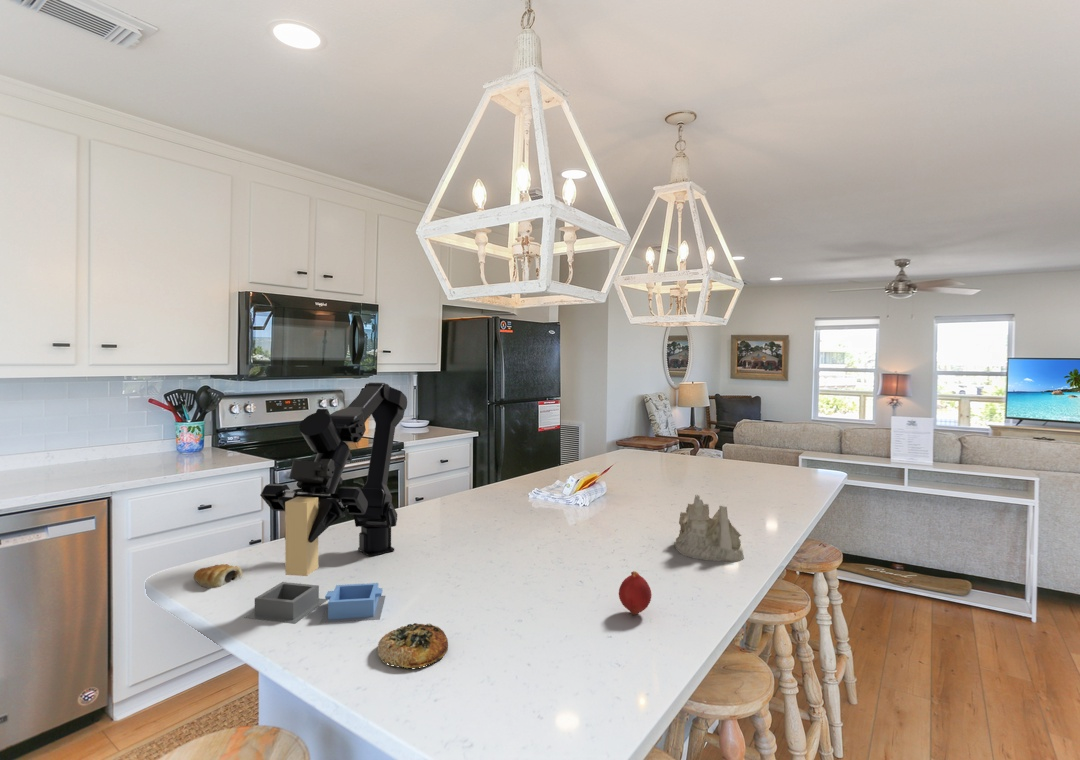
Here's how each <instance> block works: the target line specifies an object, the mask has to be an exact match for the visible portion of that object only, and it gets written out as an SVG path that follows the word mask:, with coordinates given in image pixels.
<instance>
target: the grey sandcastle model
mask: <svg viewBox="0 0 1080 760" xmlns="http://www.w3.org/2000/svg"><path fill="white" fill-rule="evenodd" d="M700 497H701V496H700V495H699V494H697V493H696V494H695V495H694V499H693V503H690V502H689V503H687V506H686V509H685V511H680V514H679V521H678V523H679V525H680V526H679V527H680V529H679V534H678V536H677V537H676V538H675V541H674V542H675V543H674V548H675V549H676V550H677V551H678V552H679V553H680V554H681V555H683V556H685V557H689V558H693V559H695V558H696V559H697V560H703V561H704V560H705V561H715V562H729V561H731V562H732V563H733V562H734V563H736V562H741V561H743V560H745V556H744V549H743V548H742V545H741V541H742V540H741V538H740V537H742V534H741V533H740V532H739V531H738V529H737V528H736V527H735V526H734V525H733V524H732V523H731V521H730V518H729V517H728V507H727V505H726V504H720V505H719V507H718V508H719V509H718V510H717V511H716V512H715V513H714V515H713V516H712V517H710V505H709V503H704V500H703V499H701V498H700ZM731 562H730V563H731Z"/></svg>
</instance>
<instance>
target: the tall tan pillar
mask: <svg viewBox="0 0 1080 760" xmlns="http://www.w3.org/2000/svg"><path fill="white" fill-rule="evenodd" d="M318 512H319V504H318V497H296V498H293V499H291V500H289V501H287V502H285V511H284V517H285V521H284V541H285V547H284V548H285V550H284V551H285V552H284V553H285V554H284V555H285V559H284V560H285V565H284V567H285V568H284V569H285V576H300V577H308V576H309V575H310V574H312V573H313V572H315V571H316V570H318V569H319V536H318V537H317V538H316V539H315V540H314V541H313V542H312V543H310V542H309V541H308V538H309V534H310V531H311V529H312V526H313V524H314V522H315V519H316V517H317V515H318Z"/></svg>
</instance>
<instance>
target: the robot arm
mask: <svg viewBox="0 0 1080 760" xmlns="http://www.w3.org/2000/svg"><path fill="white" fill-rule="evenodd" d="M407 406H408V398H407V396H406V395H405V394H404V393H403V391H402V390H400V389H396V388H395V387H392V386H390V385H389V384H388V383H386V382H368V383H365V384H364V388H363V390H362V391H361V392H360V393H359V394H357V396H356V397H355V398H354V399H353V400H352V401H351V402H350V404H348V406H346V407H345V408H342V409H339V410H338V409H337V410H335V411H334V412H332V413H330V411H329V409H328V408H317V409H316V412H314V413H311V414H309V415H307V416H306V417H305V418H304V419H302V420H301V421H300V423H299V427H298V429H299V432H300V434H301V435H302V436H303V438H304V440H305V441H306V443H307V445H308V447H310V449H311V451H313V452H314V453H316V456H315V459H314V461H313V460H310V461H309V460H293V461H292V465H291V468H290V473H289V477H288V478H289V479H290V480H294V481H297V482H296V486H297V488H298V489H301V491H297V490H294V489H290V487H289V486H288V484H285V483H284V484H283V483H269V484H266V485H264V487H263V488H262V491H261V493H260V497H261V499H263V501H264V502H265V503H266V505H267V506H268V507H269V508H270V509H271V510H272V511H275V512H285V502H287V501H289V500H291V499H293V498H296V497H318V505H319V508H318V515H317V517H316V519H315V522H314V524H313V526H312V529H311V531H310V534H309V538H308V541H309V542H310V543H312V542H313V541H314V540H315V539H316V538H317V537H318V538H319V536H321V534H322V533H324V532H325V531H326V530H327V529H328V528H329V527H330V526H332V525H333V524H334V523H336V522H337V521H338V520H339V519H341V518H345V517H346V512H345V511H347V512H348V513H349V515H353V519H354V524H355V525H354V526H355V528H357V527H359V528H361V529H360V532H359V535H358V541H359V542H358V546H359V547H357V550H358V551H359V552H361V553H363V554H364V555H366V556H369V557H373V556H377V555H380V554H385V553H390V552H395V547H393V546H392V527H396V526H397V522H398V512H397V510H396V508H395V507H394V505H393V496H392V494H391V492H390V491H391V490H390V489H389V487H388V481H389V480H388V479H389V473H390V466H391V459H392V453H393V446H394V445H393V444H394V439H395V432H396V431H395V430H396V427H397V426H398V425H399V423H401V421H402V420H403V419H404V417H405V416H404V415H405V411H406V409H407V408H408V407H407ZM371 416H372V418H373V420H374V423H375V425H374V426H375V427H374V434H373V439H372V445H371V453H370V457H369V458H370V460H369V465H368V470H367V472H368V473H367V477H366V482H365V484H364V485H363V486H362V487H360V486H359V487H358V486H341V487H339V488H338V485H342V484H343V481H344V480H343V478H342V474H343V472H344V469H345V466H346V465H347V462H351V461H353V456H352V453H351V449H350V447H349V445H348V444H347V443H351V444H352V443H355V444H356V443H357V444H358V443H359V442H360V441H361V439H362V438H363V437H364V435H365V433H366V430H367V429H366V422H367V420H368V419H369V418H370V417H371ZM337 488H338V489H337ZM336 490H337V491H336ZM335 492H336V493H335Z"/></svg>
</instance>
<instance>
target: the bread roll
mask: <svg viewBox="0 0 1080 760" xmlns="http://www.w3.org/2000/svg"><path fill="white" fill-rule="evenodd" d="M377 645H378V646H377V653H378V654H377V655H378V658H379V659H380V658H381V659H380V660H381V661H382V662H383V661H384V662H385V663H388V664H389V665H394V666H400V667H399V668H403V667H404V668H403V669H405V668H419V667H423V666H426V665H429V664H431V665H433V664H432V663H434V662H435V663H437V662H438V661H439V660H441V659H442V658H444V657H445V656H446V654H447V652H448V649H449V642H448V638H447V635H446V633H445V631H444V630H443V629H442V628H441V627H439V626H436V625H433V624H432V623H426V624H423V623H417V622H416V623H414V622H413V624H412V623H409V624H407V625H404V626H400V627H399V628H396V629H393V630H391V631H389V632H388V633H385V634H384V636H382V637H381V638H380V640H379V641H378V643H377ZM443 656H444V657H443ZM437 660H438V661H437ZM436 661H437V662H436ZM384 662H383V663H384ZM385 663H384V664H385ZM435 663H434V664H435ZM389 665H388V666H389ZM429 666H430V665H429ZM426 667H427V666H426Z"/></svg>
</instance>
